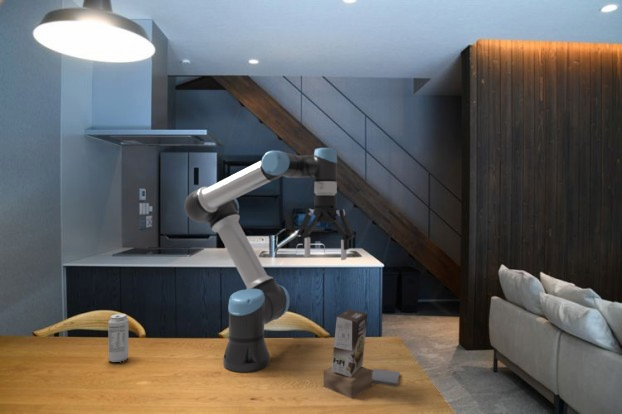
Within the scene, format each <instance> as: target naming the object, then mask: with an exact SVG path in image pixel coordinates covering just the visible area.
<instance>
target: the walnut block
mask: <svg viewBox="0 0 622 414" xmlns="http://www.w3.org/2000/svg"><path fill="white" fill-rule="evenodd" d="M372 373H373V370H372V369H370V368H367V367H365V366H363V365H362V366H361V367H360V368H359V369H358V371H357V372H356V373H355V374H354V375H353V376H352V377H348V376H345V375H342V374H339V373H337V372H334V371H332V366H331V367H329V368H327V369H325V370H323V388H325V389H328V390H331V391H333V392H335V393H337V394H340V395H342V396H344V397H347V398H349V399H353V398H355V397H356V396H358V395H360V394H361V393H363V392H365V391H367V390H368V389H370V388H371V387H373V383H372Z"/></svg>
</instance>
